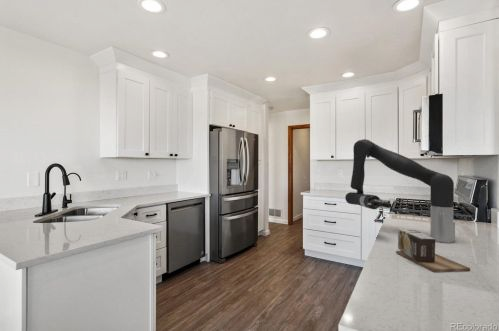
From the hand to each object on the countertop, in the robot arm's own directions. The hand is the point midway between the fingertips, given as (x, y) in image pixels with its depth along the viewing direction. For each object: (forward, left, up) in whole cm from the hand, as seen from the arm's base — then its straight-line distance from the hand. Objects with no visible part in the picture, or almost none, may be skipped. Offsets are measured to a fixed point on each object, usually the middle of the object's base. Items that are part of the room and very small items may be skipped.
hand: (389, 205), depth 127 cm
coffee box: (+1, +13, -12) cm, 18 cm away
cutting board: (0, +25, -18) cm, 31 cm away
